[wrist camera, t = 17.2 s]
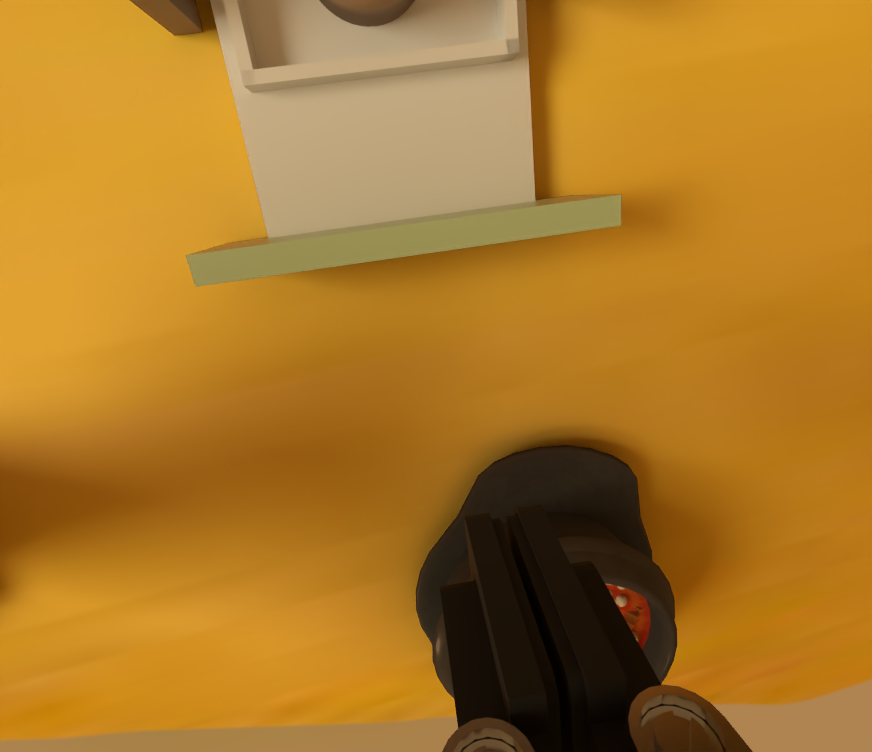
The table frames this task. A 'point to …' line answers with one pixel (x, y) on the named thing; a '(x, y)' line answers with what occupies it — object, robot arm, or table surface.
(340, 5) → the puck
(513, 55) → the tray
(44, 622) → the table surface
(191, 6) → the frame
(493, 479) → the casserole
